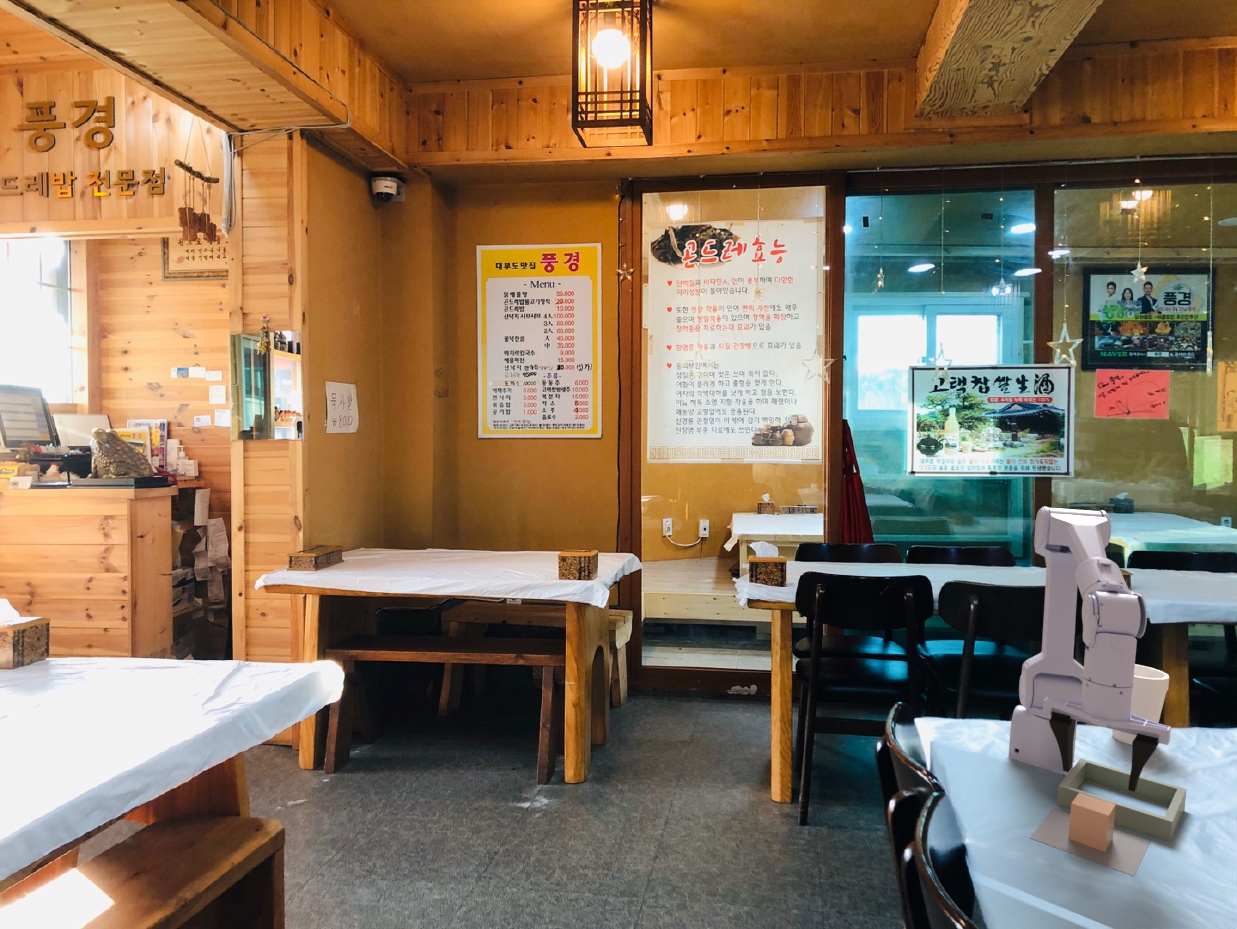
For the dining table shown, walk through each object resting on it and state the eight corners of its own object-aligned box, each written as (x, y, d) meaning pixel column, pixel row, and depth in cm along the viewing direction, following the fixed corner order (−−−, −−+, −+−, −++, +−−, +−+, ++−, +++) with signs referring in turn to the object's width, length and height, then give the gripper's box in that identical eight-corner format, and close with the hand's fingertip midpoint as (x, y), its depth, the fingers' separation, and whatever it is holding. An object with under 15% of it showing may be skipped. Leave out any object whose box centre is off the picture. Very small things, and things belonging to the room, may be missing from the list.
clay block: (1068, 838, 106) (1071, 803, 105) (1076, 827, 109) (1079, 792, 109) (1105, 852, 103) (1108, 815, 102) (1112, 839, 106) (1115, 804, 106)
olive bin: (1056, 808, 116) (1058, 785, 116) (1079, 779, 126) (1080, 758, 126) (1170, 846, 106) (1172, 822, 106) (1184, 811, 117) (1186, 789, 116)
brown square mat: (1029, 843, 106) (1029, 838, 106) (1052, 813, 114) (1053, 808, 114) (1133, 882, 97) (1134, 876, 97) (1150, 846, 106) (1150, 840, 106)
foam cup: (1154, 734, 147) (1159, 667, 146) (1170, 754, 138) (1177, 682, 137) (1096, 726, 150) (1102, 660, 149) (1109, 744, 141) (1115, 674, 140)
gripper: (1040, 673, 106) (1032, 770, 107) (1169, 703, 97) (1159, 808, 97) (1053, 663, 111) (1045, 755, 112) (1176, 689, 102) (1167, 790, 103)
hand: (1099, 778), depth 105 cm, fingers open, 7 cm apart
